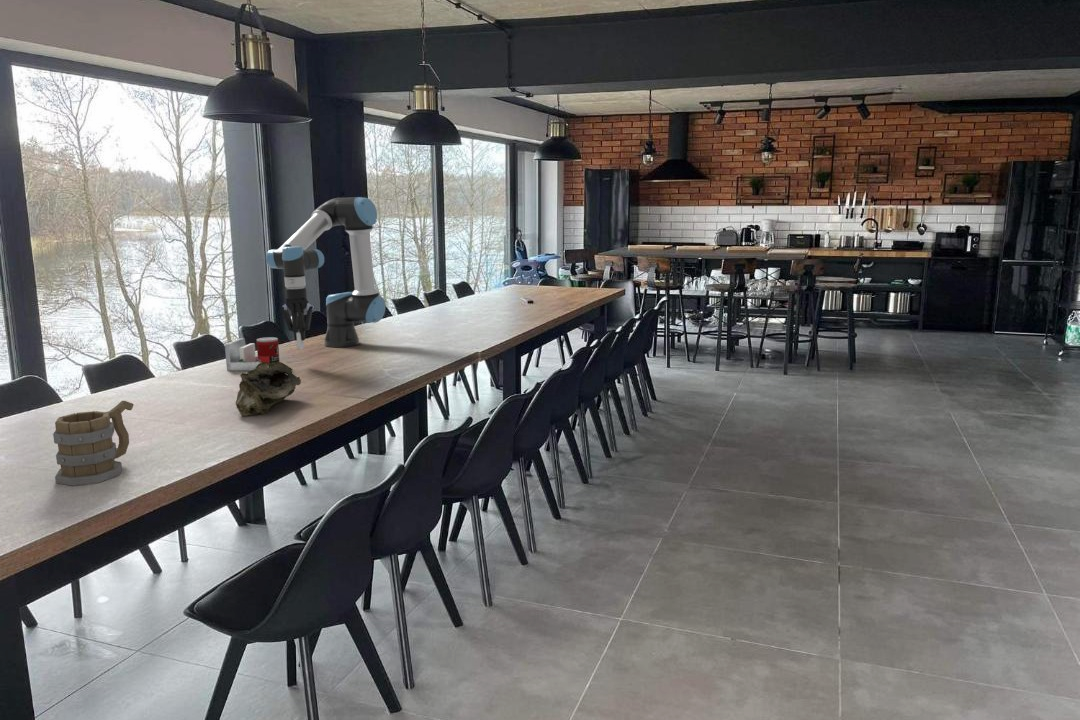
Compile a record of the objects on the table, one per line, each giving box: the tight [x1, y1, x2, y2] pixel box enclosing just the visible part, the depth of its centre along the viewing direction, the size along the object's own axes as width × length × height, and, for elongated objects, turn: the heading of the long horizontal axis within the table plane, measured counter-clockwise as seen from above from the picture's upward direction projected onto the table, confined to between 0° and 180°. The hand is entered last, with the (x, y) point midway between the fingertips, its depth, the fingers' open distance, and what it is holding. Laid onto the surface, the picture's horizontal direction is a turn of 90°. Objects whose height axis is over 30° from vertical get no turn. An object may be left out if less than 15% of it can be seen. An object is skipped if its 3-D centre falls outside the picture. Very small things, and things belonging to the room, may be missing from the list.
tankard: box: [52, 400, 135, 487], centre depth 178 cm, size 20×13×15 cm, turn 158°
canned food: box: [256, 336, 281, 363], centre depth 296 cm, size 8×8×11 cm
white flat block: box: [238, 342, 257, 362], centre depth 295 cm, size 13×2×8 cm, turn 177°
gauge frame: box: [224, 337, 262, 371], centre depth 296 cm, size 14×13×10 cm
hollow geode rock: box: [235, 361, 302, 417], centre depth 236 cm, size 28×13×15 cm
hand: (300, 348), depth 296 cm, fingers closed
